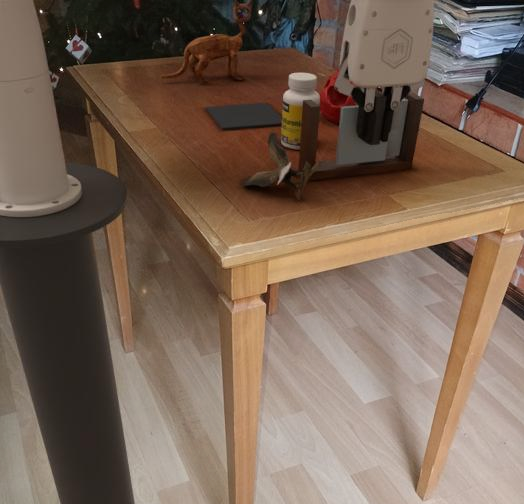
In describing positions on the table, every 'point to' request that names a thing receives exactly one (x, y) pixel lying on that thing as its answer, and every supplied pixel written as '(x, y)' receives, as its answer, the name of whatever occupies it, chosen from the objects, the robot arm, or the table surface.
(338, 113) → the pomegranate
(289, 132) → the supplement bottle
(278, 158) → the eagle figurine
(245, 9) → the cat figurine
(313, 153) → the dark brown u-shaped frame
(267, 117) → the rubber mat
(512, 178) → the table surface
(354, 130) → the sliding panel with handle
